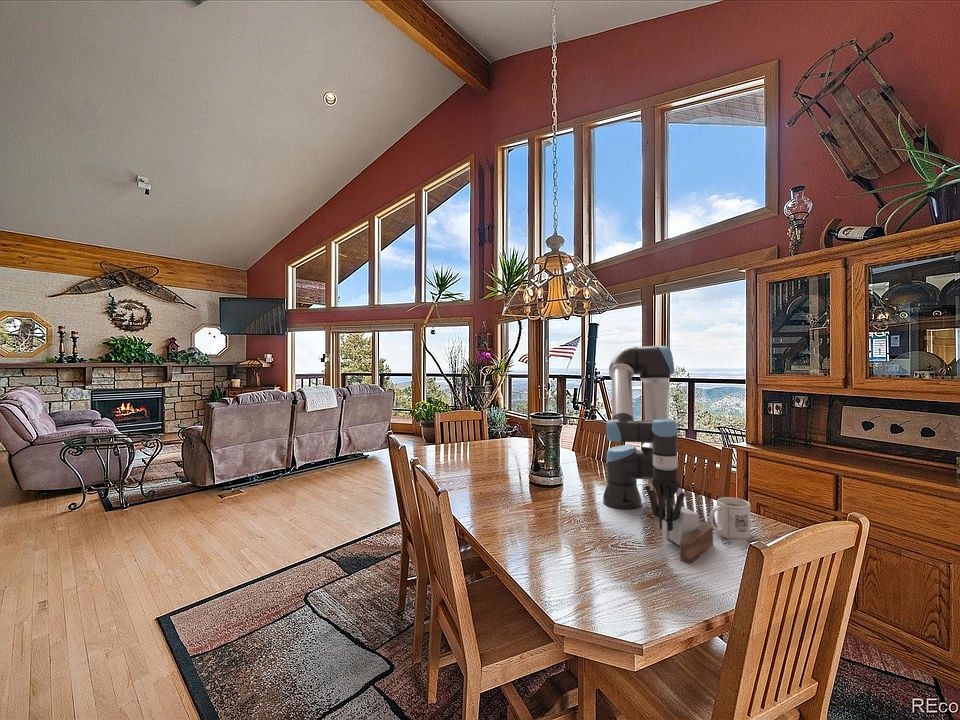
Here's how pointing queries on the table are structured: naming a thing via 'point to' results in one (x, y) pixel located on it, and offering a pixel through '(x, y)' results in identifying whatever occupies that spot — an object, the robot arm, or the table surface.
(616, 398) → the robot arm
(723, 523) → the mug
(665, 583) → the table surface
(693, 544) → the board
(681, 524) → the small box
